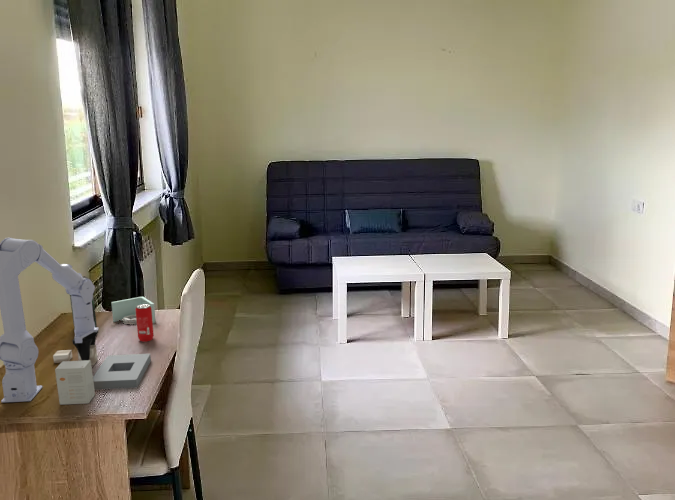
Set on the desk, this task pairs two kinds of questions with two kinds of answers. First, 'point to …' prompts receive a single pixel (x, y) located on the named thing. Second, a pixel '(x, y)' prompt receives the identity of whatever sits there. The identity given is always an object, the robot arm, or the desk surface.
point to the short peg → (62, 356)
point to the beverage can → (144, 322)
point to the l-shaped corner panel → (130, 309)
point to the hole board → (121, 371)
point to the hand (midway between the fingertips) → (87, 357)
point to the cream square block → (91, 355)
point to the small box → (75, 382)
